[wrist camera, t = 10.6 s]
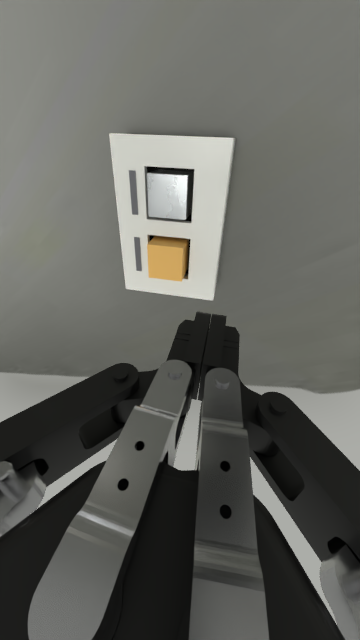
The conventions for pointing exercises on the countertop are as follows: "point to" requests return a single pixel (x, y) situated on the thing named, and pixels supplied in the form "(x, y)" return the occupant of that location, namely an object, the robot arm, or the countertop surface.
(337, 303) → the countertop surface
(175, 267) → the tan cardboard-coloured cube
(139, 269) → the panel
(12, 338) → the countertop surface
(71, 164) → the countertop surface
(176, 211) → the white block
